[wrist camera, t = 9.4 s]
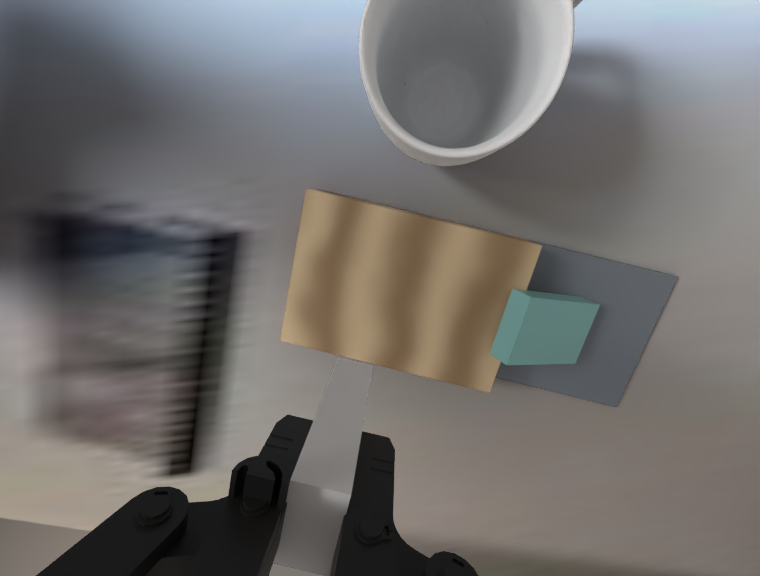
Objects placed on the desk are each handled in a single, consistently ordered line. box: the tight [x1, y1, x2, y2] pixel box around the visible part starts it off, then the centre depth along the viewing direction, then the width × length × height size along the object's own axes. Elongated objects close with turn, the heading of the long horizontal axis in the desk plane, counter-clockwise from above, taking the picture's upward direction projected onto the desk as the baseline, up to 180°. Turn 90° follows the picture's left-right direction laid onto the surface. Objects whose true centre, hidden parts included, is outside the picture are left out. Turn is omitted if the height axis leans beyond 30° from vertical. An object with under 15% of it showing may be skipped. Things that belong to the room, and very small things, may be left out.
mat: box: [496, 240, 678, 407], centre depth 34 cm, size 14×14×1 cm
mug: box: [359, 0, 582, 166], centre depth 24 cm, size 15×11×13 cm
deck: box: [280, 189, 542, 393], centre depth 33 cm, size 20×14×4 cm
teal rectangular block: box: [490, 289, 600, 365], centre depth 31 cm, size 9×6×2 cm
